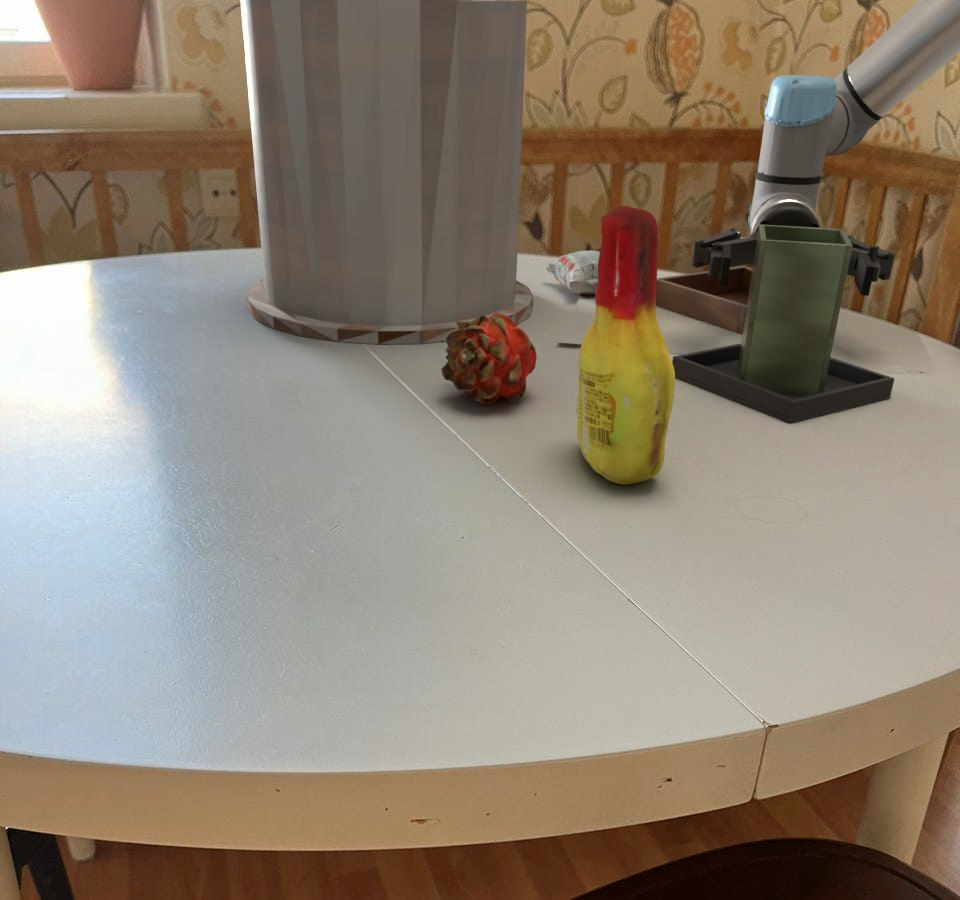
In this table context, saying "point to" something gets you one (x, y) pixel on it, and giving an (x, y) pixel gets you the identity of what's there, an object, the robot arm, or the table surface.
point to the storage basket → (386, 165)
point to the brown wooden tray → (707, 297)
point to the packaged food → (577, 271)
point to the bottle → (625, 356)
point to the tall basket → (793, 308)
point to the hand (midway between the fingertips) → (795, 276)
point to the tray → (840, 393)
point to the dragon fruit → (489, 359)
